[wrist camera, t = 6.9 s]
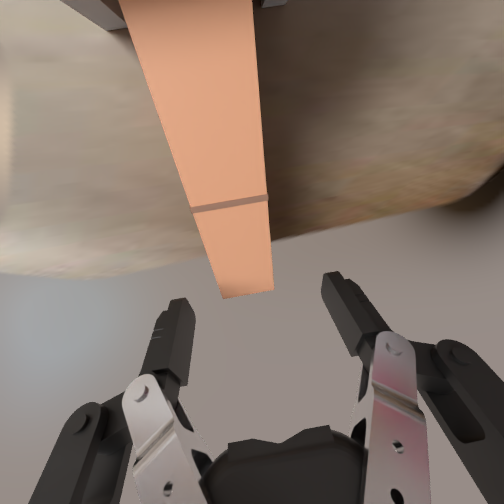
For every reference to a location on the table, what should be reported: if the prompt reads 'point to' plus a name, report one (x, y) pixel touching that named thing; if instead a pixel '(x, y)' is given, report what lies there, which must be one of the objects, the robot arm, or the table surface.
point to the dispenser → (120, 11)
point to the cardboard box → (211, 126)
